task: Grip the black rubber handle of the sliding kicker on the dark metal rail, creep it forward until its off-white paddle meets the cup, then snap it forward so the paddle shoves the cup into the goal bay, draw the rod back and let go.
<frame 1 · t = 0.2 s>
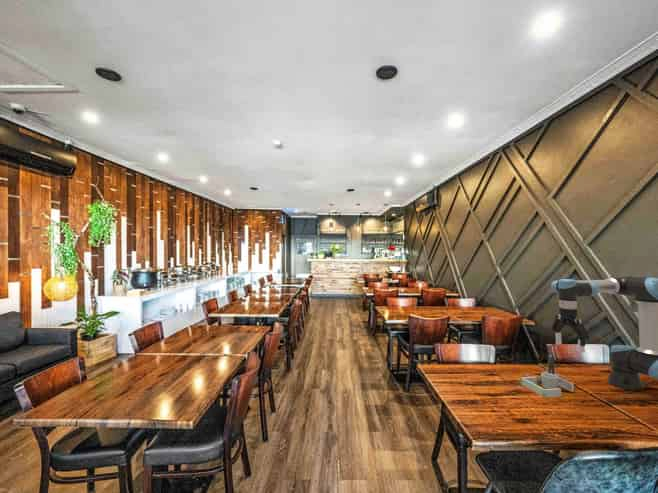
hand: (569, 348, 158), 28 cm above the table, fingers open, 13 cm apart
rail: (542, 381, 183), on the table
cup: (552, 389, 171), on the table
kicker: (560, 371, 178), point 8 cm above the table, slide at 0.0 cm
goal: (539, 390, 170), on the table
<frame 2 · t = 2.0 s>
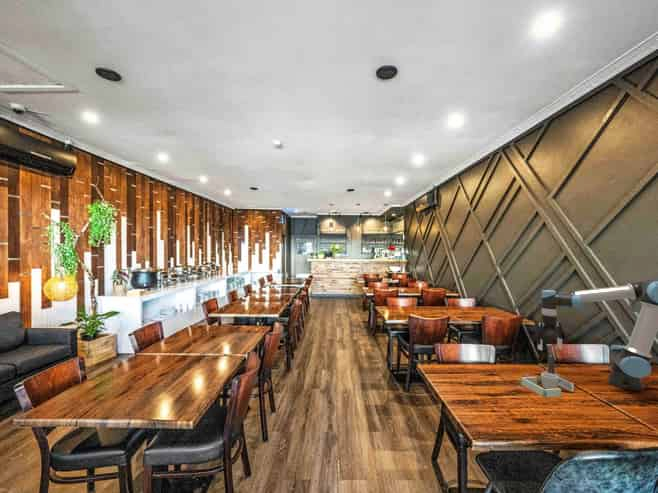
hand: (550, 349, 184), 19 cm above the table, fingers open, 13 cm apart
nothing on the table moved.
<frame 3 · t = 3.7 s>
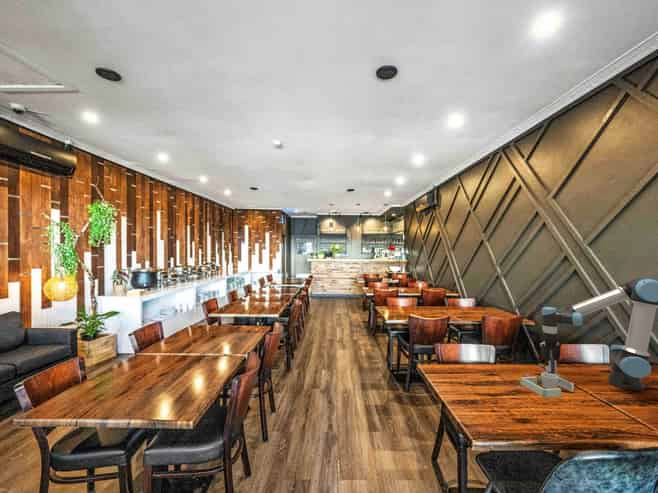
hand: (551, 370, 184), 6 cm above the table, fingers closed on kicker, 3 cm apart
kicker: (560, 371, 178), point 8 cm above the table, slide at 0.0 cm, touching gripper
everything else where it was.
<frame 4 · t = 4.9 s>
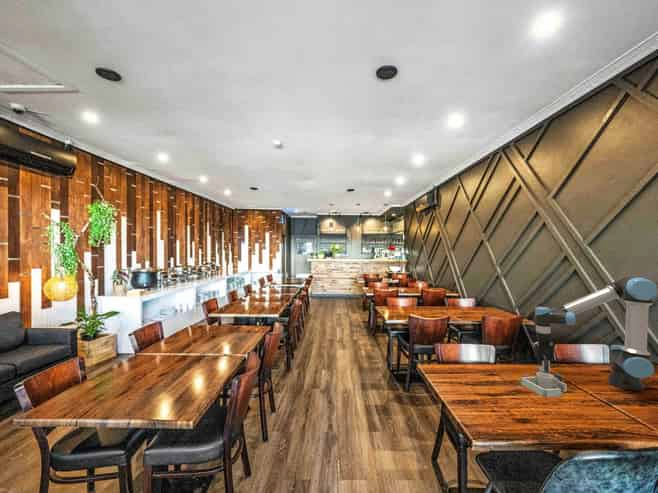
hand: (544, 370, 183), 6 cm above the table, fingers closed on kicker, 3 cm apart
cup: (548, 389, 171), on the table, touching kicker
kicker: (553, 371, 177), point 8 cm above the table, slide at 4.4 cm, touching cup, gripper
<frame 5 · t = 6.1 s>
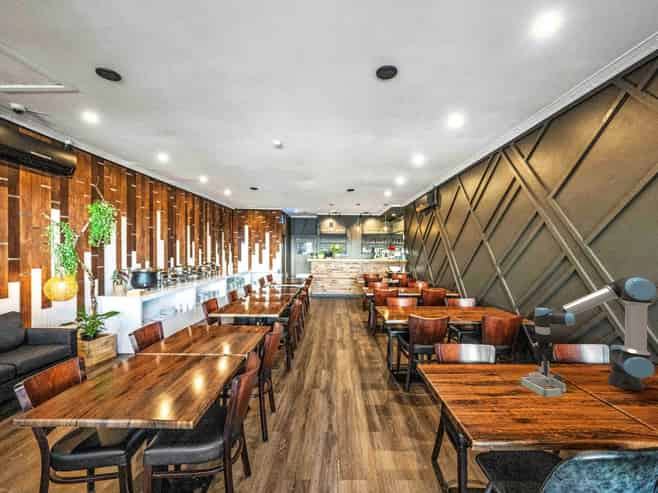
hand: (544, 371, 183), 6 cm above the table, fingers closed on kicker, 3 cm apart
cup: (540, 389, 171), on the table
kicker: (552, 371, 177), point 8 cm above the table, slide at 5.0 cm, touching gripper
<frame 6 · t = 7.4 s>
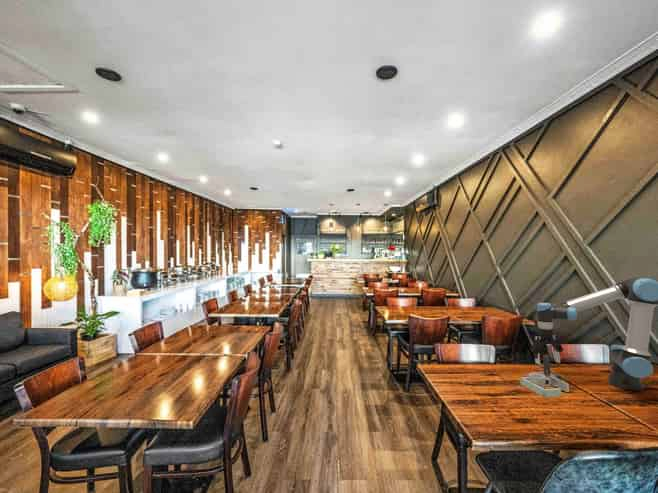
hand: (547, 362, 183), 11 cm above the table, fingers open, 13 cm apart
kicker: (555, 371, 177), point 8 cm above the table, slide at 3.0 cm
everything else where it was.
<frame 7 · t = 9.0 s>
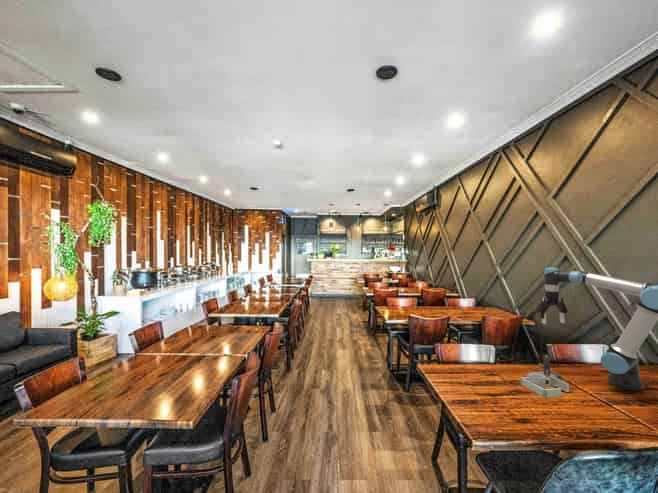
hand: (553, 323, 196), 33 cm above the table, fingers open, 13 cm apart
nothing on the table moved.
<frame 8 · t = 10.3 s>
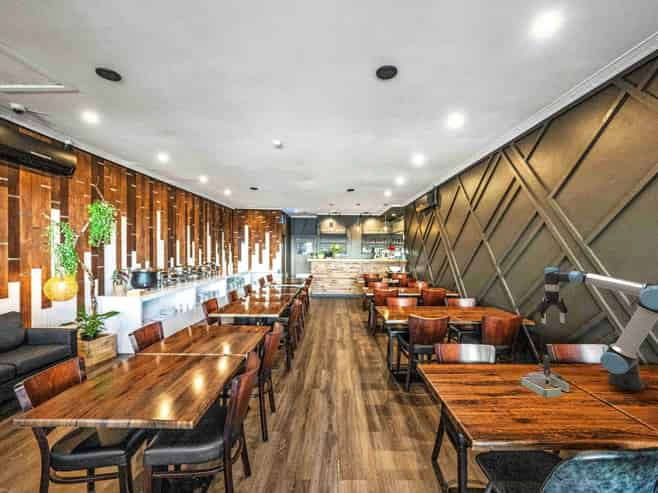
hand: (553, 323, 196), 33 cm above the table, fingers open, 13 cm apart
nothing on the table moved.
at the end: cup inside the target area (1.7 cm from its centre), on the table; the gripper is holding nothing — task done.
